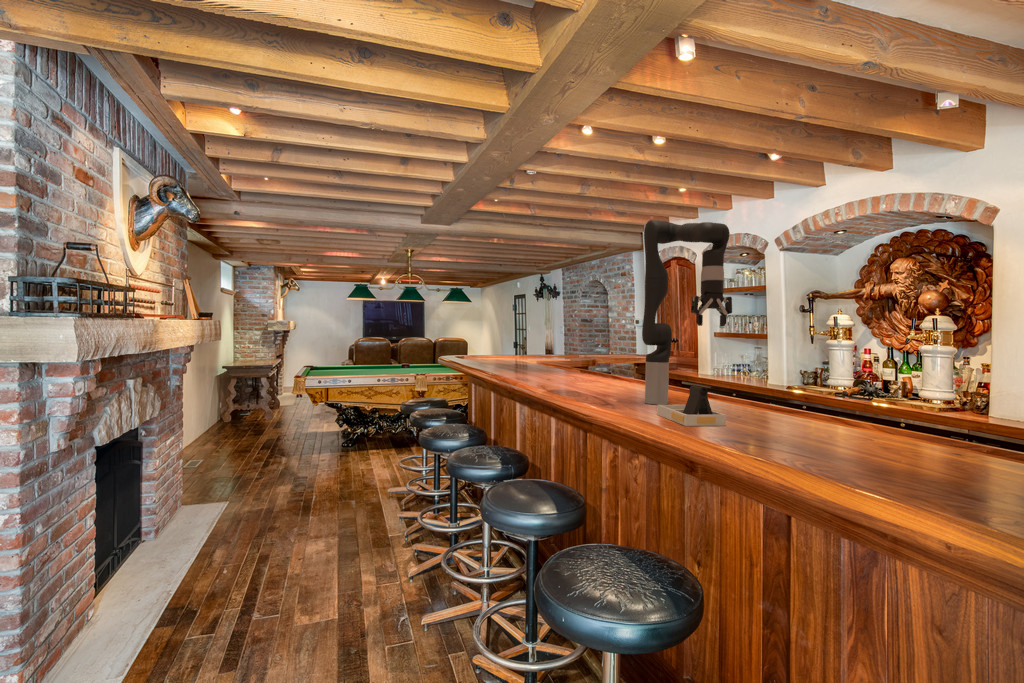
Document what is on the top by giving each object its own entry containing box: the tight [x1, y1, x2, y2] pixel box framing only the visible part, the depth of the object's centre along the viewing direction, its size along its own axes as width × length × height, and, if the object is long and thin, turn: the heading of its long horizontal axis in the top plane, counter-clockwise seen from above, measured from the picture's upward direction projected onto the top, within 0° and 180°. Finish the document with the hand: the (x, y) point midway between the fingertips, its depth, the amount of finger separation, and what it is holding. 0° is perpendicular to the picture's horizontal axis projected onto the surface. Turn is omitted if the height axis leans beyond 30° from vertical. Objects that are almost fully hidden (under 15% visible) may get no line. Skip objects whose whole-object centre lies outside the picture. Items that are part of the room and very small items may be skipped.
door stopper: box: [683, 384, 713, 415], centre depth 160 cm, size 9×6×12 cm, turn 100°
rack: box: [656, 404, 727, 427], centre depth 164 cm, size 21×14×4 cm, turn 8°
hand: (711, 325), depth 172 cm, fingers open, 8 cm apart
